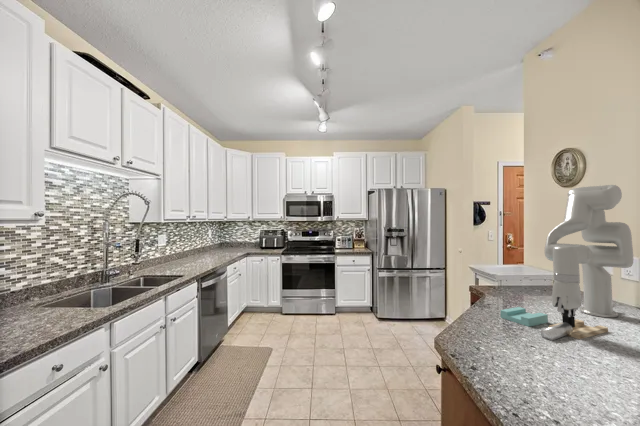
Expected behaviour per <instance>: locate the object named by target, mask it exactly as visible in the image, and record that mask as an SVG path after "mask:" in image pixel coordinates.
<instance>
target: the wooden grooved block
mask: <svg viewBox="0 0 640 426" xmlns="http://www.w3.org/2000/svg"><path fill="white" fill-rule="evenodd" d="M561 323H563V322H558V323H554V324H550V325H548V328H550V327H553V326H555V325H558V324H561ZM608 332H609V327H608V326H604V325H600V324H599V325H595V326H591V325H587V324H585V321H584V320H582V319H577V318H576V319H575V327H573V332H571V334H568V335H566V336H567V337H571V338H574V339H577V340H581V339H585V338H589V337H593V336H597V335H600V334H604V333H608Z"/></svg>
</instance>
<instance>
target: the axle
mask: <svg viewBox="0 0 640 426" xmlns="http://www.w3.org/2000/svg"><path fill="white" fill-rule="evenodd" d="M560 323H561V324H558V323H557V324H558V325H555V326H553V327H550V328H549V327H547V328H545V329H543V330H541V331H540V336H541V338H543V339H546V340H547V341H555V340H557V339H560V338H563V337H566V336H567V335H568V334H571V332H573V328H572V326H571V325H570V324H568V323H565V322H564V323H562V322H560Z"/></svg>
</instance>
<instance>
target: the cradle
mask: <svg viewBox="0 0 640 426" xmlns="http://www.w3.org/2000/svg"><path fill="white" fill-rule="evenodd" d="M499 312H500V318H501V319H504V320H507V321H510V322H513V323H516V324H520V325H522V326H526V327H528V328H529V327H533V326H539V325H542V324H548V323H549V318H548V317H549V314H546V313H543V312H537V313H530V312H527V310H526V308H524V307H521V306H515V307H511V308H510V307H509V308H505V309H500V311H499Z"/></svg>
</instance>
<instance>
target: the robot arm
mask: <svg viewBox="0 0 640 426" xmlns="http://www.w3.org/2000/svg"><path fill="white" fill-rule="evenodd" d="M622 193H623V192H622V189H621V188H620V187H619V186H618V185H616V184H605V185H596V186H595V185H593V186H591V185H590V186H582V187H574V188H572V189H569V191H567V199H566V200H567V201H566V206H565V211H564V218H563V221H562V222H560V223H559V224H558V225H556V226H555V227H553V229H552V230H551V231H550V232H548V235H547V236H546V240H545V246H544V256H545V258H546V259H547V260H549V261H551V262H553V263H552V265H553V266H552V268H553V284H552V293H551V304H552V307H554V308H557V313H560V314H561V316H562V317H561V319H562V322H563V323H564V322H565V323H568V324H570V325H571V326H572V328H573V327H575V317H576V311H577V310H578V309H579V311H580V312H581V313H583V314H587V315H590V316H596V317H601V318H617V317H619V313H618V312H617V311H614V308H616V307H617V306H616V303H614V302H613V288H612V287H613V285H612V276H611V273H610V272H608V270H606V269H605V268H606V267H607V268H617V269H618V268H619V269H628V268H631V267H632V266H633V264H634V250H633V238H632V232H631V227H630V226H629V225H628V224H627V223H625V222H620V221H615V222H614V221H611V222H610V221H607V220H606V212H605V211H607V210H609V211H610V210H613V209H614V208H615V207H616V206H617V205H618V204H619V203H620V201H621V200H622V195H623V194H622ZM579 232H581V237H582V239H583V241H585V242H587V243H594V244H588V245H585V244H576V243H575V244H574V243H559V241H560V240H561V239H562V238H564V237H566V236H568V235H573V234H575V233H579ZM598 243H599V244H601V245H598ZM596 244H597V245H596ZM602 244H613V245H602ZM614 245H615V246H614ZM580 265H581V268H582V269H581V270H582V283H583V285H582V286H583V287H582V289H583V305H584V306H582V293H581V286H580V283H581V279H580ZM562 322H561V323H562Z"/></svg>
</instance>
